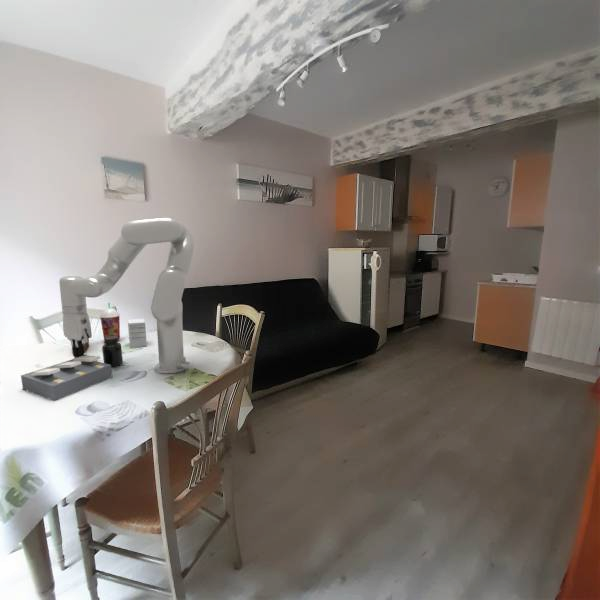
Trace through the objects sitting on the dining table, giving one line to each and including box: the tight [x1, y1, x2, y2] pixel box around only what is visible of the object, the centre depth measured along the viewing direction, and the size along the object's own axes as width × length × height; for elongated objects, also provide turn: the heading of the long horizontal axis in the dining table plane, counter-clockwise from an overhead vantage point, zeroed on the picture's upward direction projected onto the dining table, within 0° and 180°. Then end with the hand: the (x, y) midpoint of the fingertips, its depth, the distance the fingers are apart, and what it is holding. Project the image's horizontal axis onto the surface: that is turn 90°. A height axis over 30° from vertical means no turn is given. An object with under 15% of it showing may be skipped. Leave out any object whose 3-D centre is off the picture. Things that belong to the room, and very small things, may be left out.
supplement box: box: [127, 318, 148, 349], centre depth 156 cm, size 7×7×13 cm
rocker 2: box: [53, 361, 81, 368], centre depth 115 cm, size 10×4×1 cm, turn 66°
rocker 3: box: [73, 354, 101, 362], centre depth 122 cm, size 10×4×1 cm, turn 66°
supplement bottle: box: [101, 336, 124, 369], centre depth 132 cm, size 7×7×12 cm
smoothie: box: [99, 302, 121, 342], centre depth 160 cm, size 8×8×20 cm
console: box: [20, 358, 113, 401], centre depth 116 cm, size 18×20×6 cm
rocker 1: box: [31, 367, 60, 376], centre depth 109 cm, size 10×4×1 cm, turn 66°
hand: (78, 355), depth 123 cm, fingers closed
